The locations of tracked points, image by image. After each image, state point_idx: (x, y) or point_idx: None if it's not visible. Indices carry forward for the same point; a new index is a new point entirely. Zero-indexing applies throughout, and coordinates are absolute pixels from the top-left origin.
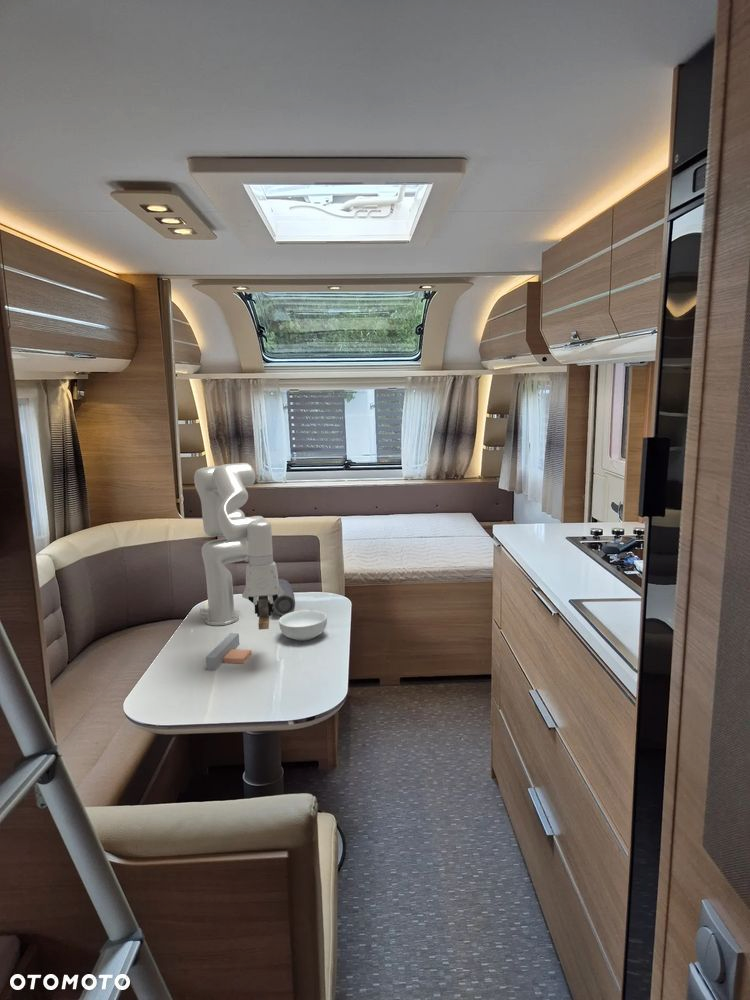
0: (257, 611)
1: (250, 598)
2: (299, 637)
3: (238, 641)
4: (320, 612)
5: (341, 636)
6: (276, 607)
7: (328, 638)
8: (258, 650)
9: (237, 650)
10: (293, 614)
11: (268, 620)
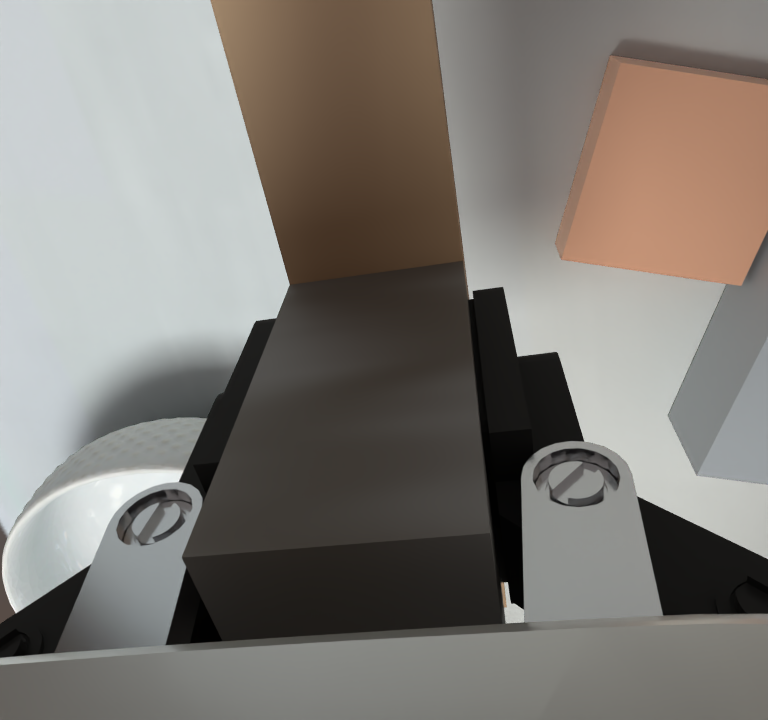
0: (501, 338)
1: (764, 608)
2: (197, 418)
3: (681, 423)
4: None
5: None
6: None
7: (52, 461)
8: (508, 311)
9: (687, 255)
10: None
11: (247, 124)
